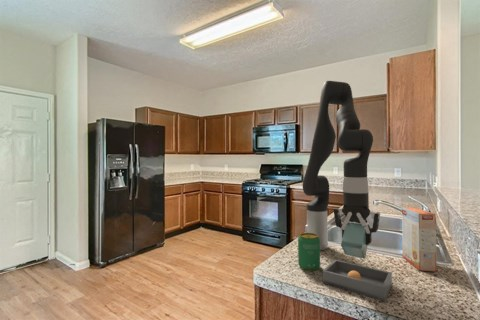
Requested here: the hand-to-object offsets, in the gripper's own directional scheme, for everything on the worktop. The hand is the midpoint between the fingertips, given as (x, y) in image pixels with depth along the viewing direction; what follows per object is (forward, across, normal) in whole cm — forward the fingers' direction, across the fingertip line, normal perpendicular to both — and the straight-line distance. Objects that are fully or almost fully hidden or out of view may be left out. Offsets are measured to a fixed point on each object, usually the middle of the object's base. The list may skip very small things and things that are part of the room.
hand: (356, 242), depth 82 cm
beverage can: (+14, +18, -3) cm, 23 cm away
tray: (+14, 0, 0) cm, 14 cm away
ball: (+11, 0, +2) cm, 11 cm away
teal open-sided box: (+2, 0, +4) cm, 5 cm away
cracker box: (+14, -14, -31) cm, 37 cm away
